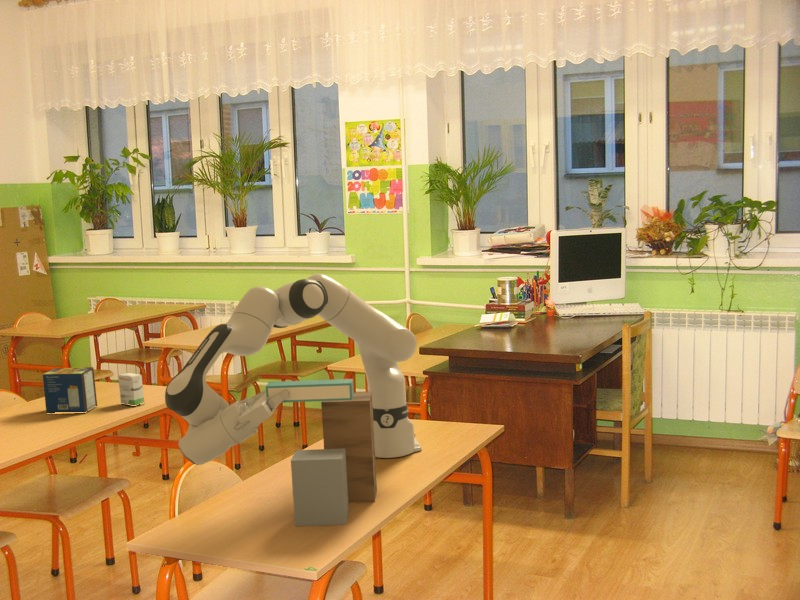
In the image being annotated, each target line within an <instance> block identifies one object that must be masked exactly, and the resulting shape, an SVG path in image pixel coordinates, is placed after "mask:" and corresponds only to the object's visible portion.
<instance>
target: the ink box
mask: <svg viewBox="0 0 800 600" xmlns="http://www.w3.org/2000/svg"><path fill="white" fill-rule="evenodd" d="M117 376H118V386H119V395H120V397H119V398H120V404H121V403H124V404H130V405H137V404H140V403H143V402H144V403H145V396H144V387H143V375H142V374H139V373H132V372H126V373H121V374H118V375H117Z"/></svg>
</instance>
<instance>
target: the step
mask: <svg viewBox="0 0 800 600" xmlns="http://www.w3.org/2000/svg"><path fill="white" fill-rule="evenodd" d="M290 467H291V468H290V469H291V470H290V471H291V482H292V483H291V485H292V486H291V487H292V498H293V499H292V500H293V515H294V526H295V527H316V526H321V527H322V526H342V525H343V526H345V525H347V522H348V517H349V513H350V509H349V508H350V507H349V503H348V488H347V470H346V453H345V449H324V448H323V449H321V448H319V449H296V450H295V451H294V453H293V456H292V457H291V460H290Z"/></svg>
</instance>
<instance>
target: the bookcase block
mask: <svg viewBox="0 0 800 600" xmlns="http://www.w3.org/2000/svg"><path fill="white" fill-rule="evenodd" d="M320 402H321V403H320V404H321V405H320V406H321V420H322V421H321V422H322V437H323V438H322V439H323V449H345V453H346V470H347V488H348V504H349V503H374V502H376V500H377V499H376V498H377V492H378V485H377V483H378V482H377V481H378V480H377V467H376V466H377V461H376V457H375V441H374V422H373V403H372V392H368V391H364V392H363V391H361V392H354V396H353V399H352V400H338V401H320Z"/></svg>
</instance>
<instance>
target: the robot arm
mask: <svg viewBox="0 0 800 600" xmlns="http://www.w3.org/2000/svg"><path fill="white" fill-rule="evenodd" d="M316 316H319V317H320V318H321V319H322V320H324V321H325V322H326V323H328V324H329V325H331V326H332V327H333V328H335V329H336V330H337V331H339V332H341V334H343V335H345V336H346V337H348V338H349V339H352V340H353V342H354V345H355V346H356V348H357V350H358V351H359V354H360V358H361V361H362V364H363V365H362V366H363V368H364V372H365V375H366V381H367V392H372V403H373V422H374V441H375V458H383V459H391V458H399V457H404V456H408V455H410V454H413V453H417V452H420V451H422V450H423V449H422V445H421V444H420V442H419V441H418V439H417V437H416V434H415V430H414V429H415V428H414V427H415V426H414V422H412V420H410V419H409V407H408V403H407V395H406V393H407V392H406V378H405V375H404V374H403V372H402V371H401V369H400V366H399V363H400V362H401V363H402V362H406V361H408V360H410V358H412V357H413V356H414V354H415V352H416V351H417V347H418V343H417V338H416V335H415V334H414V332H413V331H411V330H410V329H409V328H407V327H406V326H404V325H402V324H401V323H399V322H398V321H396V320H395V319H393V318H392V317H390V316H388V315H387V314H385V313H384V312H382V311H380V310H378V309H377V308H376V307H373V306H372V305H371V304H369V303H367V302H366V301H365V300H363V299H362V298H360V296H358V295H357V294H356V293H354V292H353V291H351V290H350V289H349V288H348V287H346V286H345V285H343V284H342V283H341V282H339V281H338V280H336V279H334V278H332V277H330V276H328V275H325V274H323V273H314V274H312V275H310V276H309V277H307V278H304V279H303V278H302V279H299V280H295V281H293V282H289V283H286V284H283V285H281V286H280V287H278V288H276V289H275V290H272V289H270V288H269V287H266V286H262V285H261V286H257V285H256V286H254V287H251V288H249V290H247V292H246V293H245V294H244V295H243V297H241V298H240V300H239V302H238V304H237V305H236V307H235V308H234V310H233V312H232V314H231V315H230V318H229V320H227V322H226V323H222V324H221V323H220V324H218V325H216V326H215V327H214V328H212V329H211V330H210V332H209V333H208V334H207V335H206V336H205V338H204V339H203V341H201V342H200V344H199V346H197V348H196V350H195V351H194V352H193V354H192V355H191V356H190V358H189V359H188V361H187V362H186V363H185V365H184V366H183V367H182V369H181V370H180V371H179V372H178V373H177V374H176V375H175V376H174V377H172V379H171V380H170V381H169V382H168V383H167V385H166V388H165V393H164V403H165V406H166V407H167V408H168V409H169V410H170V411H172V412H173V413H175V414H177V415H178V416H180V417H182V419H184V420H185V421H186V422H188V428H187V431H186V433H185V435H184V436H183V437H181V438H180V439H179V440H178V449H179V451H180V452H181V454H182V455H183V456H184V458H186V459H187V460H188V461H189V462H190V463H192V464H193V465H195V466H200V465H204V464H207V463H210V462H211V461H213V460H215V459H216V458H219V457H220V456H222V455H224V454H225V453H226V452H228V450H230V448H232V447H233V446H236V445H239V444H241V443H242V442H244V441H246V440H247V439H250V437H252V436H254V435H256V434H257V433H258V432H259V426H260V425H261V424H262V423H264V422H265V421H267V420H269V419H270V417H271V416H272V415H273V413H274V411H275V410H276V409H277V408H278V406H279V405H280V404H282V403H284V402H283V401H284V400H285V399H287V398H288V397H289V396H290V394H289V392H288V391H287V390H284V391H282V392H281V393H280V394H278V395H277V396H275V397H273V398H271V399H269V397H266V389H264V390H263V391H261V392H259V393H257V394H255V395H252V396H251V397H245V398H243V399H241V400H236V401H234V403H231V404H229V402H228V401H227V400H225V399H224V398H223V397H222V395H220V394H219V393H217V392H216V391H215V390H214V389H212V387H210V385H208V383H207V381H206V378H207V377H206V376H207V374H208V373H209V372H210V370H211V369H212V367H213V366H214V365H215V363H216V361H218V359H219V358H220V356H221V355H222V354H223V353H226V354H231V355H234V356H237V357H239V356H240V357H249V356H253V355H254V356H255V354H257V353H259V352H261V351H262V349H264V347H265V345H266V344H267V342H268V340H269V337H270V335H271V334H272V331H273V328H276V329H284V328H287V327H291V326H295V325H299V324H301V323H303V322H305V321H308V320H309V319H312V318H315V317H316ZM281 402H282V403H281Z"/></svg>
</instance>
